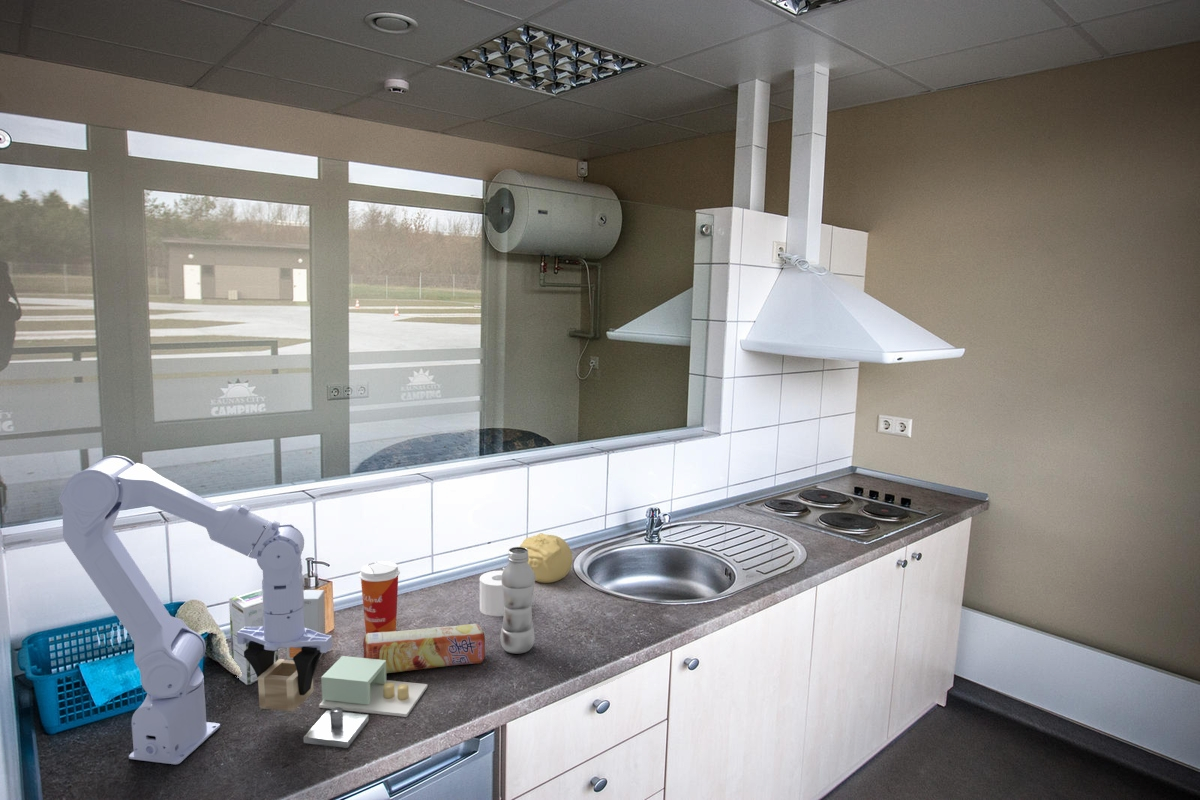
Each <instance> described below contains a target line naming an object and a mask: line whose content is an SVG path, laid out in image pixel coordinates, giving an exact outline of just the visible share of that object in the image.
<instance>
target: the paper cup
mask: <svg viewBox="0 0 1200 800" xmlns="http://www.w3.org/2000/svg"><path fill="white" fill-rule="evenodd" d="M400 574H401V571H400V569H399V566H398V564H397V563H395V562H393V561H389V560H384V561H383V560H380V561H378V560H377V561H375V562H370V563H368V564H364V565H363V566H362V567H361V570H360V572H359V574H358V578H360V583H361V593H362V594H361V597H362V606H363V607H362V608H363V615H364V617H363V618H364V627H365V635H366V634H367V633H377V632H392V631H397V617H398V616H397V613H398V612H397V611H398V595H399V594H398V593H399V592H398V591H399V590H398V588H399V575H400Z"/></svg>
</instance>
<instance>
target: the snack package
mask: <svg viewBox="0 0 1200 800" xmlns="http://www.w3.org/2000/svg"><path fill="white" fill-rule="evenodd" d="M485 638H486V637H485V633H484V631H483V628H482V626H480V624H478V623H470V624H460V625H450V626H437V627H427V628H417V629H409V630H407V629H406V630H396V631H392V632H377V633H367V634H366V633H365V635H364V637H363V640H362V641H363V645H362V646H363V658H369V659H379V660H386V674H391V673H400V672H401V673H402V672H409V671H410V672H411V671H417V670H423V669H424V670H425V669H432V668H442V667H448V666H449V667H451V666H459V665H469V664H470V665H471V664H480V663H482V662H483V661H484V659H485V655H486V650H485V649H486V639H485Z"/></svg>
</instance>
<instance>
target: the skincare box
mask: <svg viewBox="0 0 1200 800" xmlns="http://www.w3.org/2000/svg"><path fill="white" fill-rule="evenodd" d="M325 593H326V592H325V590H324V589H304V626H305V628H307V629H310V630H313V631H316V632H319V633H322V634H325V635H326V609H325V607H326V606H325V605H326V603H325V599H326V598H325V597H326V595H325ZM300 651H301V648H294V647H289V648H286V660H293V657H294V656H295V655H297V654H298V653H299V652H300ZM323 654H324V653H322V655H321V657H320V659H321V658H322V656H323Z"/></svg>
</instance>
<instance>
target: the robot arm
mask: <svg viewBox="0 0 1200 800" xmlns="http://www.w3.org/2000/svg"><path fill="white" fill-rule="evenodd" d="M57 499H58V502H59V503H60V504H61V505H60V506H62V537H63V539H64V541H65V544H66V545H67V547H68V548H69V549H70V550H71V552H72V553H73V555H74V556H75V558H76V559H77V560H78V562H79V564H80V565H81V566H82V568H83V570H84V572H86V574H87V575H88V576H89V578H90V580H91V581H92V583H93V584H94V586H95V587H96V589H97V590H98V592H100V594H101V595H102V597H103V598H104V600H105V602H106V603H107V605H108V606H109V607H110V608H111V610H112V611H113V613H114V614H115V616H116V617H117V619H118V620H119V622H120V623H121V624H122V626H123V628H124V630H126V632H127V634H129V636H130V637H131V639H132V640H133V647H134V649H133V659H134V661H133V662H134V664H135V665H136V666H137V668H138V669H139V673H140V684H141V686H142V688H143V690H144V692H146V693H147V694H146V695H145V696H146V697H145V699H144V700H143V702H142V704H141V705H139V707H138V708H137V709H136V710H135V711H134V713H133V714H132V717H131V735H132V744H133V745H132V746H133V747H132V748H133V751H132V752H131V753H130V754H129V755H128V759H130V760H136V761H144V762H152V763H161V764H168V765H170V764H171V765H179V764H181V763H182V762H183V761H184V760H186V758H187V757H189V755H191V754H192V753H193V752H194V751H195V750H196V749H197V748H199V746H201V745H202V744H203V743H204V742H205V741H206V740H207V739H208V738H209V737H210V736H212V735H213V734H214V733H215V732H216V731H218V729H220V728H221V723H218V722H217V723H216V722H211V721H210V722H209V721H207V712H206V708H207V707H206V698H205V695H206V693H205V679H204V678H205V677H204V673H203V672H202V670H201V668H200V666H199V665H200V661H201V660H202V659H203V657H204V656H205V653H206V650H207V649H206V647H207V646H206V642H205V639H204V637H203V636H202V635H201V634H199V632H197V631H196V630H194V629H191V628H190V627H189V626H188V625H187V624H186V623H185V621H184V620H183V619H182V618H178V617H174V616H173V615H171V614H170V613H169V611H168V610H167V608H166V607H165V605H164V604H163V602H162V601H161V599H160V598H159V596H158V595H157V593H156V592H155V590H154V589H153V588H152V585H150V582H149V581H148V580H147V579H146V576H145V575H144V574H143V573H142V570H141V569H140V568H139V566H138V564H137V563H136V562H135V560H134V559H133V558H132V556H131V554H130V553H129V551H128V550H127V549H126V547H125V545H124V544H123V542H122V541H121V539H120V538H119V536H118V535H117V534H116V531H114V528H113V527H114V525H115V522H116V521H117V518H118V515H119V512H120V511H127V510H132V509H137V508H142V507H153V508H155V509H158V510H161V511H163V512H165V513H167V514H170V515H173V516H176V517H178V518H180V519H184V520H185V521H188V522H191V523H193V524H196V525H198V526H201V527H203V528H205V529H206V531H207V534H208V536H209V539H210V540H211V541H213V542H215V543H217V544H220V545H223V546H224V547H226V548H229V549H231V550H233V551H235V552H238V553H239V554H242V555H244V556H246V557H248V558H251V559H254V560H256V562H257V563H256V564H257V565H258V567H259V569H260V570H262V580H261V581H262V582H261V589H262V593H263V620H264V627H244V628H242V629H241V630H240V631H238V632H237V643H238V644H245V643H246V642H247V643H249V646H248V649H246V650H245V651H244V657H245V658H246V659H247V660H248V662H249V663H250V664H251V666H252V667H253V669H254V671H255V673H256V675H257V677H259V676H260V675H261V674H262V673H263V672H265V671H266V670H267V669H268V668H269V667H270V666H272V665H273V664H274V655H275V650H278V651H279V649H285V648H286V649H287V648H289V647H294V648H301V651H300V652H299V653H298V654H297V655H295V656H294V657H293V659H292V660H293V661H294V663H295V665H296V669H297V673H298V687H299V694H300V695H305V694H306V693H307V692H308V691H309V690H310V689H311V684H312V679H313V680H314V674H315V671H316V668H317V666H318V663H319V661H320V659H321V658H322V656H323V654H326V653H328V652H329V651H330V650H331V649H332V648H333V635H330V634H326V633H325V634H322V633H319V632H316V631H313V630H310V629H307V628H305V626H304V590H305V589H304V588H305V587H304V575H303V564H302V553H303V550H304V547H305V538H304V535H303V534H302V532H301V530H299V529H298V528H297V527H295V526H294V525H292V524H291V523H280V522H278V521H276V520H274V521H273V522H272V521H269V520H268V519H266V518H263V517H261V516H259V515H257V514H255V513H253V512H250V510H251V507H250V506H248V505H245V504H241V505H240V506H238V505H236V504H234V503H233V504H228V505H224V506H218V505H217V504H214V503H213V502H212V501H209V500H207V499H205V498H203V497H202V496H200V495H197V493H194V492H192V491H191V490H188V488H185V487H183V486H181V485H179V484H177V483H175V482H174V481H171V480H170V479H168V478H166V477H164V476H162V475H160V474H159V473H157V472H156V471H154V469H152V468H150V467H149V466H147V465H146V464H143V463H140V462H136V463H135V462H134V461H133V460H132V459H130V458H128V457H127V456H122V455H116V454H114V455H108V456H105V457H102V458H101V459H99V460H97V461H96V462H95V463H94V464H92V465H91V466H89V467H87V468H85V469H84V470H81V471H78V472H76V473H74V474H73V475H72V476H70V478H69V479H68V480H67V482H66V483H65V485H64V487H63V489H62V491H61V493H60V495H59V497H58V498H57ZM322 653H323V654H322ZM321 655H322V656H321ZM320 657H321V658H320Z"/></svg>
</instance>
